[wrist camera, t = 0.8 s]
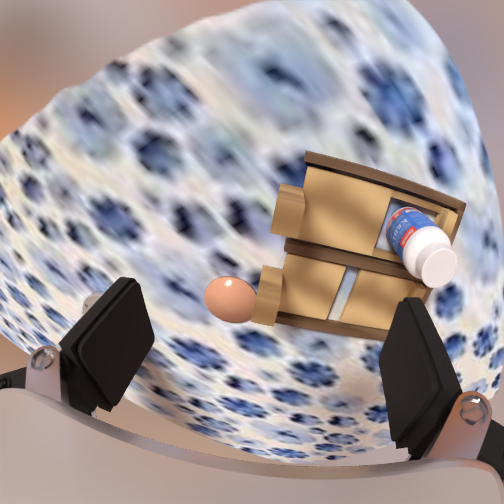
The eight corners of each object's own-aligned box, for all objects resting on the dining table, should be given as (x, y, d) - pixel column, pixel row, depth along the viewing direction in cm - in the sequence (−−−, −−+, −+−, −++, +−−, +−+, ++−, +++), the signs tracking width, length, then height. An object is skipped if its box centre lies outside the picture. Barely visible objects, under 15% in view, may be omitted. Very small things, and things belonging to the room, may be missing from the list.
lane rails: (399, 336, 36) (403, 347, 33) (267, 313, 37) (265, 325, 34) (460, 200, 26) (470, 206, 24) (305, 150, 27) (307, 152, 25)
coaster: (253, 325, 38) (252, 327, 37) (203, 313, 38) (202, 315, 38) (262, 283, 35) (262, 285, 34) (207, 270, 35) (206, 272, 35)
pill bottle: (388, 203, 28) (424, 236, 19) (428, 208, 28) (471, 241, 19) (381, 248, 31) (408, 294, 22) (419, 251, 30) (454, 294, 21)
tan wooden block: (325, 316, 35) (329, 353, 29) (255, 302, 36) (246, 338, 30) (345, 263, 32) (355, 296, 26) (267, 246, 32) (260, 277, 26)
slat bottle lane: (426, 267, 30) (448, 297, 24) (270, 230, 31) (264, 258, 25) (448, 208, 27) (479, 229, 21) (285, 160, 28) (282, 170, 22)
